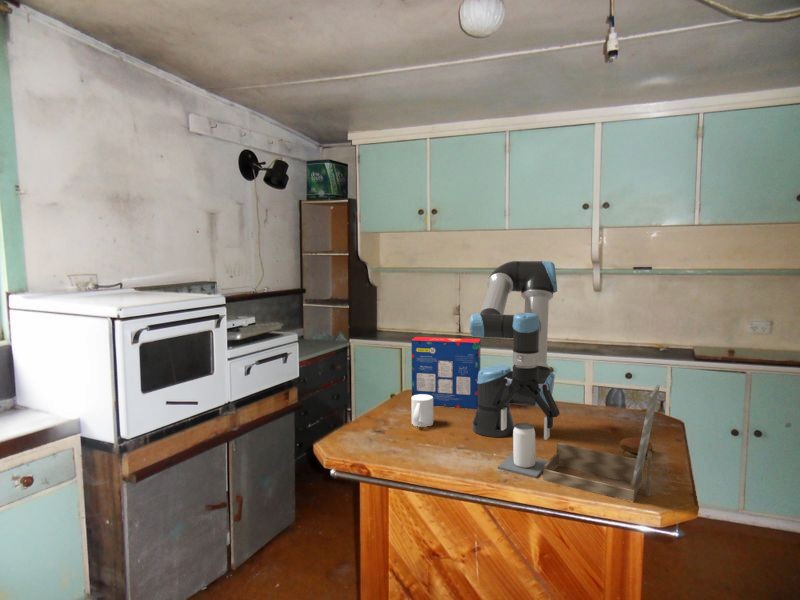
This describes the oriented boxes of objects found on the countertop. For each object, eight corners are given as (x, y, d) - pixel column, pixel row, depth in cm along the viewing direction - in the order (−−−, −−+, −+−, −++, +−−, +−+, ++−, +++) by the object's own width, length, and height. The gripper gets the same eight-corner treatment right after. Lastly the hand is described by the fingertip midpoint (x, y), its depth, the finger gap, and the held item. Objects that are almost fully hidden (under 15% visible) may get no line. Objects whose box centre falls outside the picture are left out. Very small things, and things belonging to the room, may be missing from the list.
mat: (497, 468, 157) (497, 466, 157) (513, 455, 167) (513, 453, 167) (536, 478, 150) (536, 476, 150) (550, 463, 160) (550, 461, 160)
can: (535, 469, 155) (535, 430, 153) (513, 467, 156) (512, 429, 155) (535, 460, 161) (534, 422, 160) (513, 458, 162) (513, 421, 161)
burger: (613, 452, 169) (614, 438, 168) (630, 446, 174) (630, 432, 174) (642, 462, 161) (643, 448, 160) (658, 456, 166) (659, 441, 166)
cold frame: (543, 479, 149) (544, 381, 146) (556, 464, 159) (558, 372, 156) (647, 505, 134) (652, 395, 131) (655, 487, 144) (659, 385, 141)
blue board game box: (480, 403, 222) (480, 339, 219) (478, 409, 215) (478, 342, 212) (416, 399, 229) (415, 336, 226) (411, 405, 221) (411, 340, 219)
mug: (435, 395, 199) (426, 404, 188) (436, 421, 200) (426, 431, 189) (415, 393, 202) (405, 401, 191) (415, 419, 203) (405, 429, 192)
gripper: (481, 362, 159) (481, 429, 162) (563, 373, 145) (561, 446, 148) (492, 357, 166) (492, 421, 168) (571, 367, 152) (569, 437, 154)
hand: (524, 433), depth 158 cm, fingers open, 13 cm apart
